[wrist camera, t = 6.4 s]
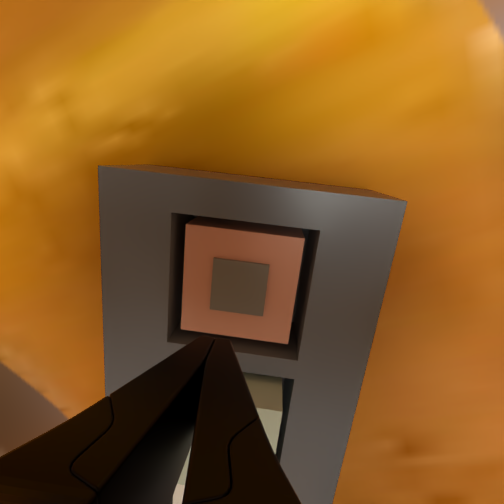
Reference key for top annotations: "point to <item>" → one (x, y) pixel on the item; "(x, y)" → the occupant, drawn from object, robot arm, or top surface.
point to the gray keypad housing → (306, 301)
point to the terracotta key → (240, 278)
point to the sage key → (260, 408)
